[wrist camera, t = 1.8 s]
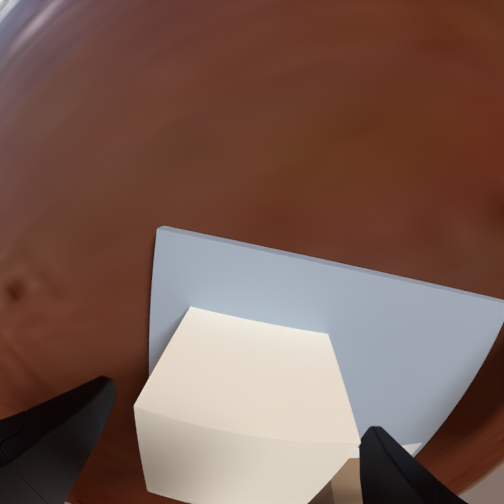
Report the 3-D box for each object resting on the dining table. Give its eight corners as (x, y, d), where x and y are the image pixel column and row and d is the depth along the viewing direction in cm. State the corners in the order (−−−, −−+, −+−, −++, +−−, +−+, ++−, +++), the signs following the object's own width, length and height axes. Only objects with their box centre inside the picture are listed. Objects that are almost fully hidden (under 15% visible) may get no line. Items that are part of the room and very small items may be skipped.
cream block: (290, 422, 11) (294, 515, 6) (180, 401, 11) (147, 491, 6) (327, 333, 10) (360, 442, 5) (190, 306, 10) (133, 406, 5)
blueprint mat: (354, 505, 15) (355, 510, 14) (159, 485, 15) (157, 491, 14) (504, 300, 10) (511, 305, 9) (163, 225, 10) (156, 229, 9)
